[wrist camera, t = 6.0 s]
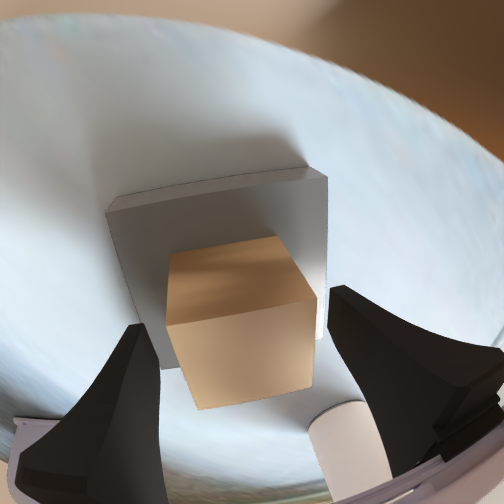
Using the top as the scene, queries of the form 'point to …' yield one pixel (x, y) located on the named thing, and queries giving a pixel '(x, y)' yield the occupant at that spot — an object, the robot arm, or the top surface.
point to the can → (350, 450)
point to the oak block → (241, 322)
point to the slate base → (217, 233)
